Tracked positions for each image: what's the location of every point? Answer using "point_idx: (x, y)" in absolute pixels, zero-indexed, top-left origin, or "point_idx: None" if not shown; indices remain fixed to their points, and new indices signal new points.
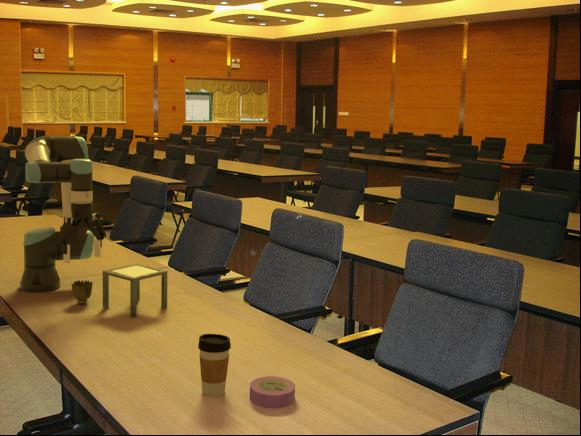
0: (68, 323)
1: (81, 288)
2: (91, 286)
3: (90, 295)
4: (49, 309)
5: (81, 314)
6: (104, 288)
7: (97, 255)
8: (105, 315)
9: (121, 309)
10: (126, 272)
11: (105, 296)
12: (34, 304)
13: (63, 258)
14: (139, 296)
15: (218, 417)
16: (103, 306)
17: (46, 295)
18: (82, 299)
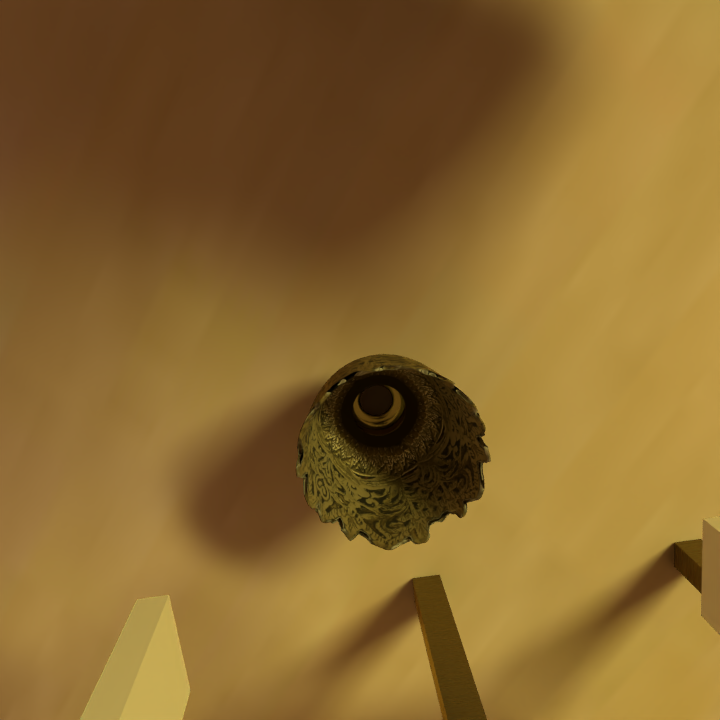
0: None
1: (340, 517)
2: (439, 515)
3: (424, 467)
4: (122, 384)
5: (242, 602)
6: (440, 702)
7: (716, 598)
8: (345, 696)
9: (487, 655)
10: None
11: (430, 664)
12: (82, 195)
13: (117, 640)
14: None
15: None
16: (415, 595)
17: (275, 7)
18: (353, 459)
